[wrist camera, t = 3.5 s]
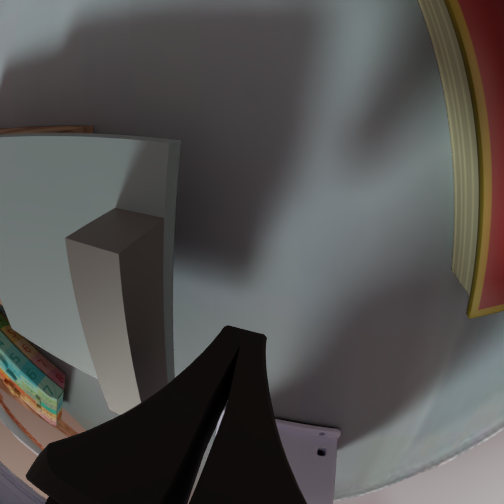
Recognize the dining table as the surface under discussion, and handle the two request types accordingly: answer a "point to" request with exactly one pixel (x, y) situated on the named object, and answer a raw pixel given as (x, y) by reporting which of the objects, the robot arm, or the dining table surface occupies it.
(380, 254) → the dining table surface
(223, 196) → the dining table surface
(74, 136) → the lid
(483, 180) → the hardcover book
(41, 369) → the puzzle game
